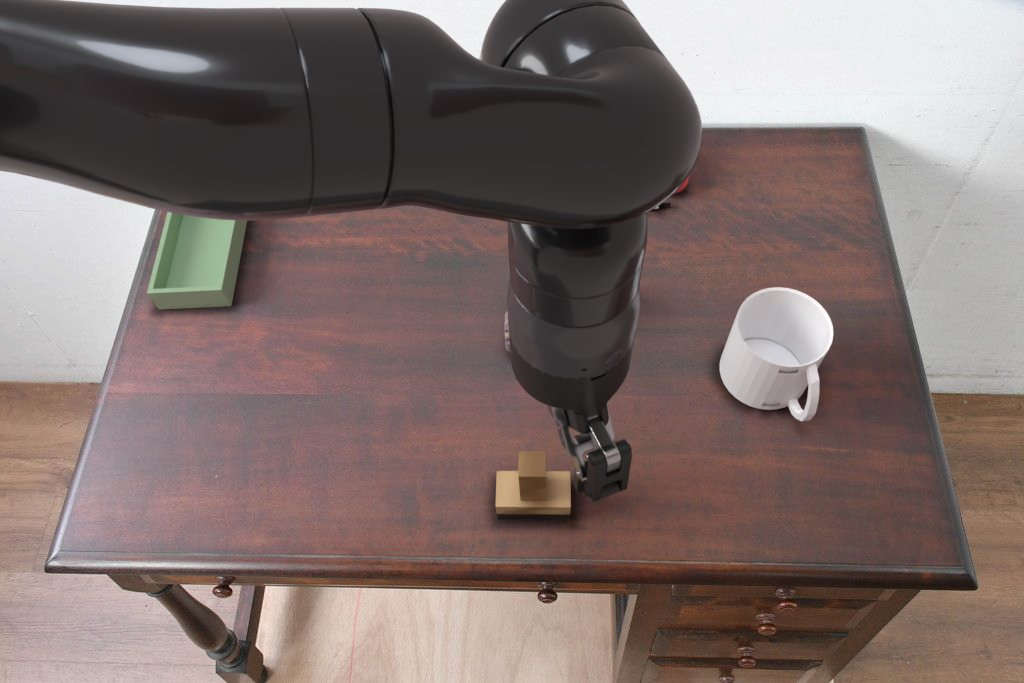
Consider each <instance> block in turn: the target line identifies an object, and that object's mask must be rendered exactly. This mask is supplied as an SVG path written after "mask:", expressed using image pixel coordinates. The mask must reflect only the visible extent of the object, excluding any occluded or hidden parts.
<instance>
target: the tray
mask: <svg viewBox="0 0 1024 683" xmlns="http://www.w3.org/2000/svg"><path fill="white" fill-rule="evenodd" d="M164 221H165V222H164V224H163V228H162V232H161V236H160V240H159V244H158V247H157V252H156V256H155V260H154V264H153V267H152V272H151V275H150V280H149V282H148V287H147V292H146V294H147V296H148V297H149V299H150V300H151V301H152V302H153V304H154V305H155V306H156V307H157V309H158V310H159V311H160V310H179V309H180V310H181V309H198V308H199V309H200V308H201V309H202V308H222V307H223V308H224V307H232V306H233V301H234V300H233V299H234V295H235V291H236V290H235V289H236V284H237V280H238V279H237V278H238V273H239V268H240V262H241V256H242V251H243V246H244V241H245V235H246V229H247V224H248V221H245V220H220V219H211V218H201V217H194V216H188V215H182V214H176V213H171V212H167V213H166V217H165V220H164Z"/></svg>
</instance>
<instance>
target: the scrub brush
mask: <svg viewBox="0 0 1024 683" xmlns="http://www.w3.org/2000/svg"><path fill="white" fill-rule="evenodd" d="M495 480H496V481H495V512H496V518H497V520H539V521H540V520H542V521H543V520H545V521H546V520H550V521H551V520H553V521H561V520H562V521H564V520H565V521H569V520H571V511H572V496H571V495H572V493H571V492H572V491H571V488H572V486H571V485H572V484H571V483H572V482H571V471H570V470H547V451H539V450H537V451H534V450H533V451H532V450H531V451H530V450H529V451H528V450H526V451H525V450H519V451H518V469H517V470H496V479H495Z"/></svg>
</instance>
